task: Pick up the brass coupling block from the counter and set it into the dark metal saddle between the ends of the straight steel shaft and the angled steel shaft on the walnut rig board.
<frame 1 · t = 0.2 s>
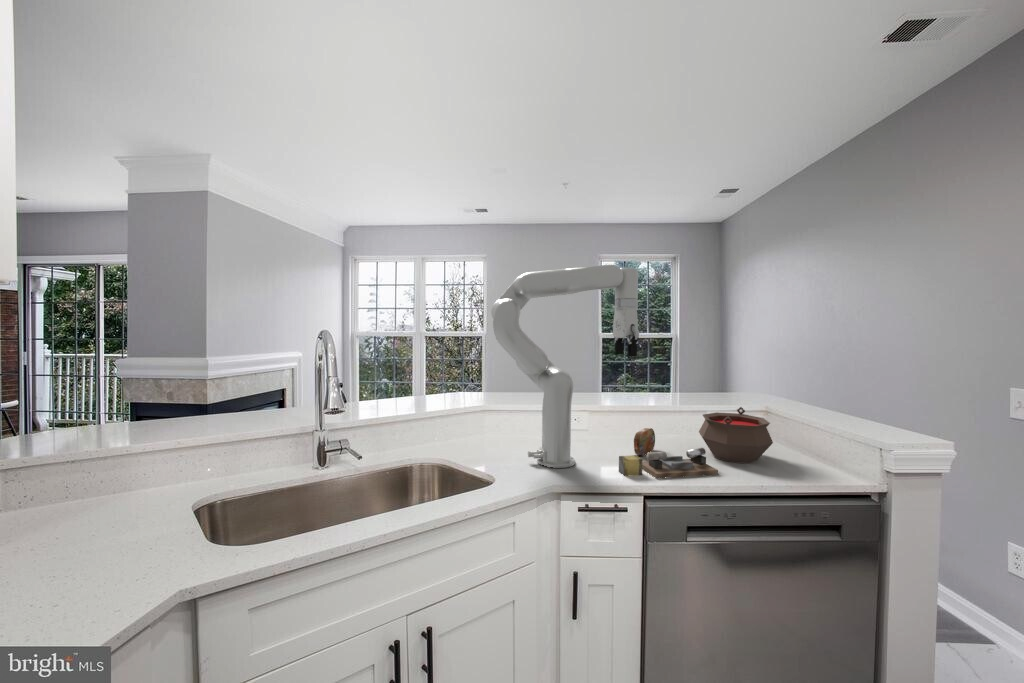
hand: (625, 355, 154), 36 cm above the worktop, tool pointing down, fingers open, 9 cm apart
shaft b: (689, 469, 146), resting on rig
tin: (644, 453, 165), on the worktop
brown cooking pot: (733, 457, 160), on the worktop
rig: (676, 470, 145), on the worktop
coupler: (630, 473, 142), on the worktop
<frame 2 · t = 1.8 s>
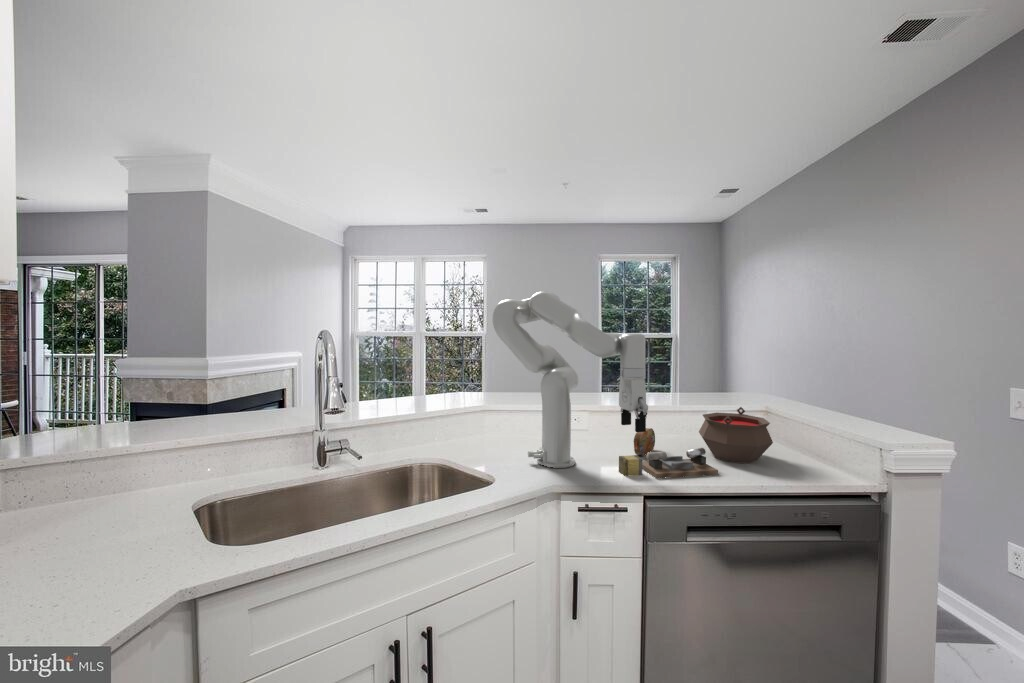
hand: (633, 428, 141), 14 cm above the worktop, tool pointing down, fingers open, 9 cm apart
nothing on the worktop moved.
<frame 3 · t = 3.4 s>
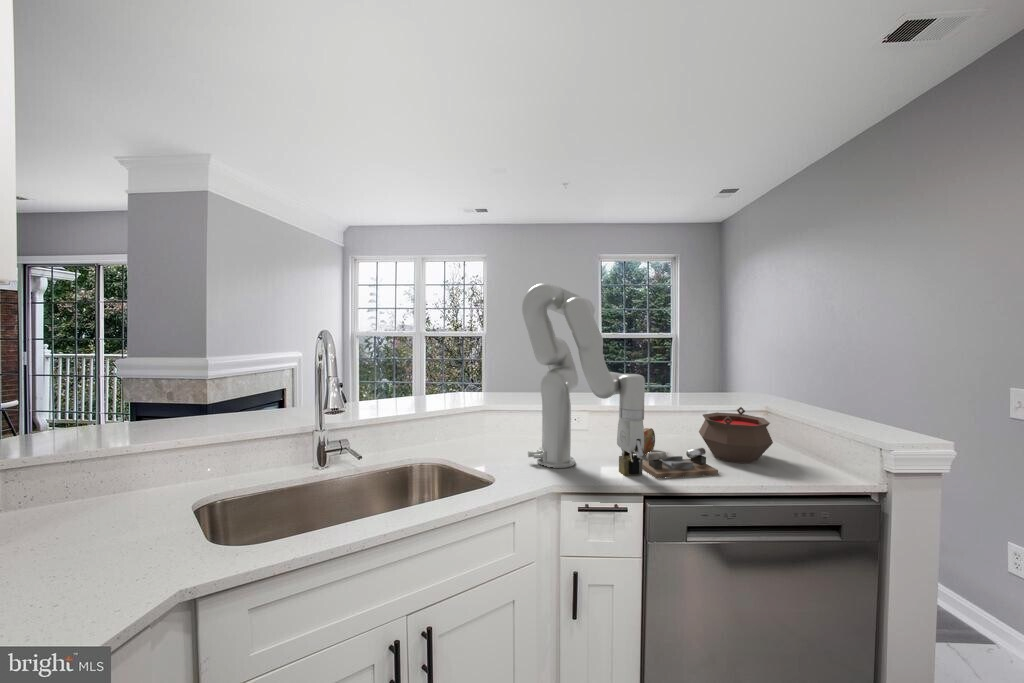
hand: (630, 471, 142), 1 cm above the worktop, tool pointing down, fingers closed on coupler, 4 cm apart
coupler: (630, 473, 142), on the worktop, touching gripper
everything else where it was.
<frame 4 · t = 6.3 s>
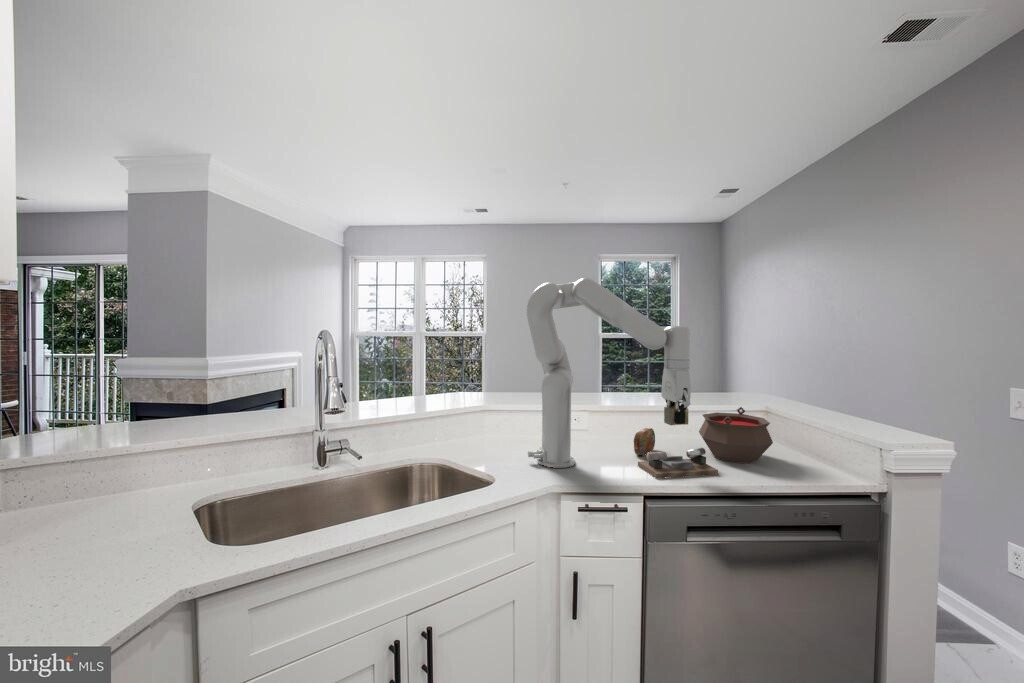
hand: (676, 421, 144), 16 cm above the worktop, tool pointing down, fingers closed on coupler, 4 cm apart
coupler: (676, 423, 144), point 15 cm above the worktop, touching gripper
everything else where it was.
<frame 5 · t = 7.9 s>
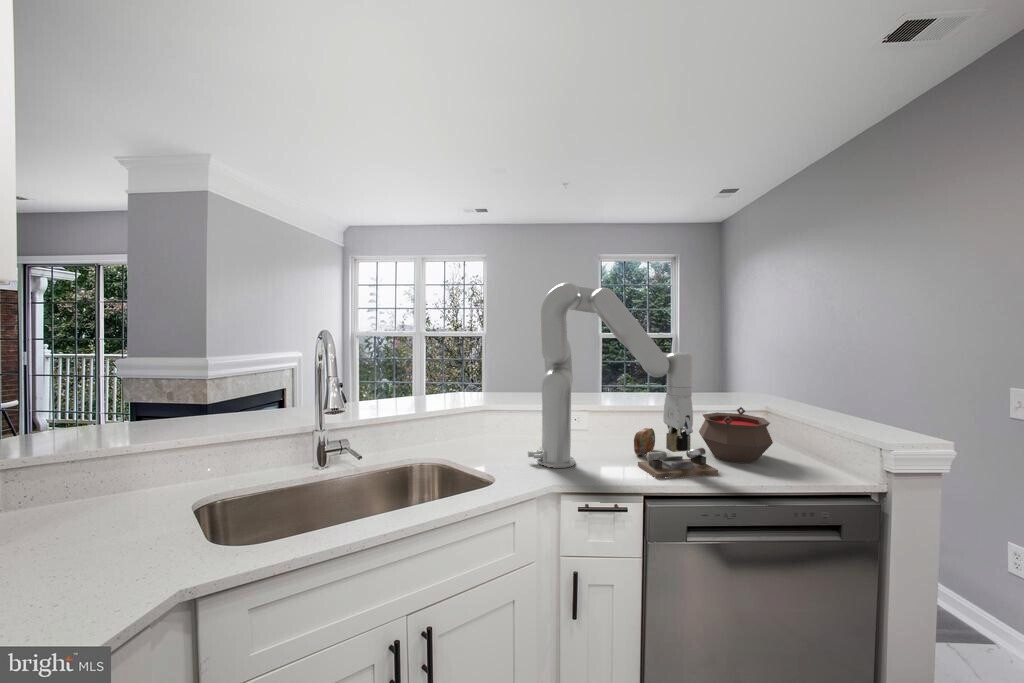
hand: (678, 447, 145), 7 cm above the worktop, tool pointing down, fingers closed on coupler, 4 cm apart
coupler: (678, 449, 145), point 7 cm above the worktop, touching gripper
everything else where it was.
when the fingers open (5 cm above the worktop, at t = 9.2 s): coupler drops 1 cm, resting on rig.
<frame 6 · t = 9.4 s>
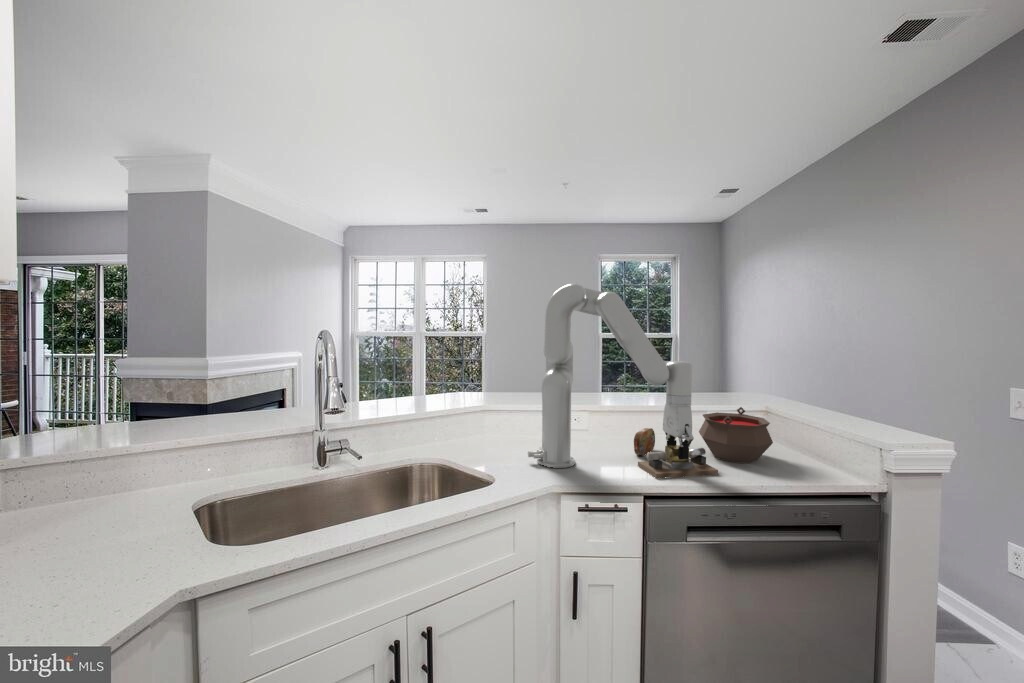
hand: (677, 455, 145), 5 cm above the worktop, tool pointing down, fingers open, 6 cm apart
coupler: (676, 462, 145), point 2 cm above the worktop, touching rig
everything else where it was.
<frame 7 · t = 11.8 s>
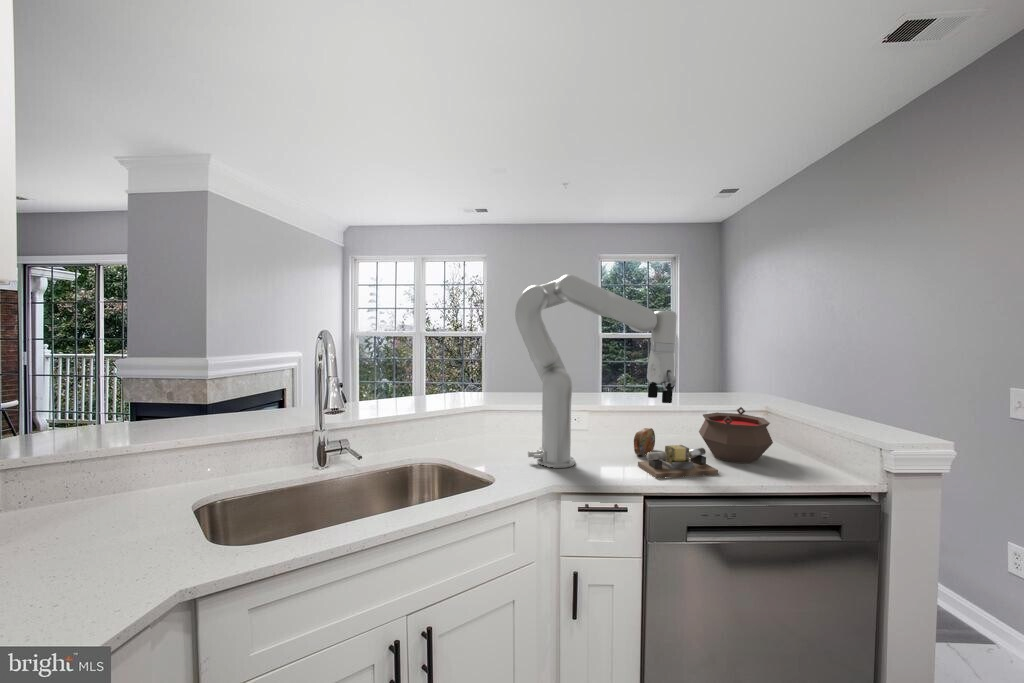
hand: (659, 400, 149), 22 cm above the worktop, tool pointing down, fingers open, 9 cm apart
nothing on the worktop moved.
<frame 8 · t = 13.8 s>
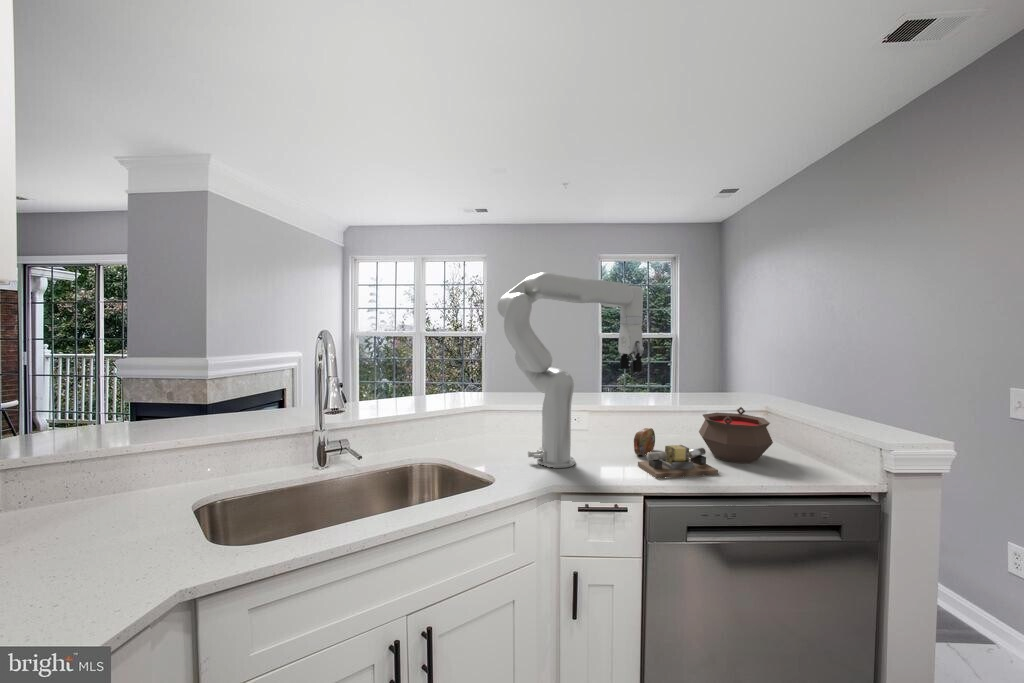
hand: (630, 370, 160), 30 cm above the worktop, tool pointing down, fingers open, 9 cm apart
nothing on the worktop moved.
at the end: coupler 0.1 cm off-centre on the rig, point 2.5 cm above the rig's base; coupler tilted 0°; the gripper is holding nothing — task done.
